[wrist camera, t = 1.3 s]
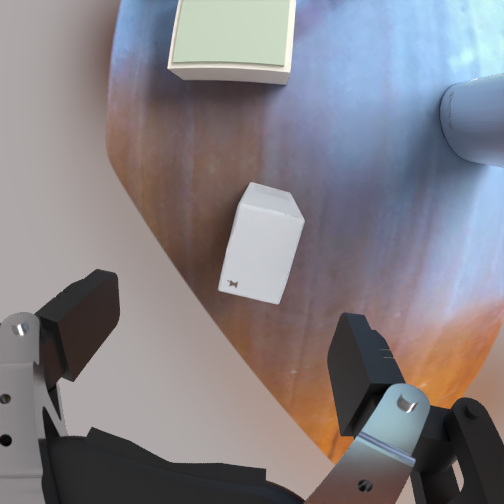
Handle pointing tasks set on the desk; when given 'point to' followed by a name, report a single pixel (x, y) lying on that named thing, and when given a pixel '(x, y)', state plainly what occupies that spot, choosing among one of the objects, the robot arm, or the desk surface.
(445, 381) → the desk surface
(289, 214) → the skincare box
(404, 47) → the desk surface
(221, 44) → the cream rectangular block
